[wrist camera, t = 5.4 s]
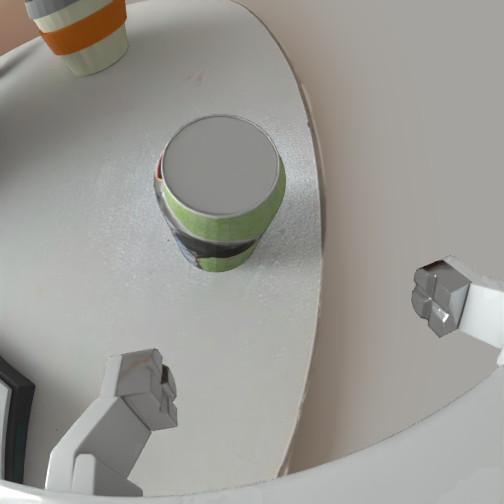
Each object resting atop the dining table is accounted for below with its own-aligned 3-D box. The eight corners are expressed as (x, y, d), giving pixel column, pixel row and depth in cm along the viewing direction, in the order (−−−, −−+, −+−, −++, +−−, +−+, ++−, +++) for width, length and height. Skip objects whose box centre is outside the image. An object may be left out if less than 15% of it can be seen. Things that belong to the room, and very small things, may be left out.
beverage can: (208, 190, 24) (182, 77, 13) (287, 232, 23) (318, 130, 12) (164, 252, 23) (95, 167, 11) (245, 302, 22) (239, 250, 10)
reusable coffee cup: (142, 62, 30) (114, -34, 16) (56, 98, 29) (9, 17, 15) (138, 25, 34) (119, -50, 20) (67, 54, 33) (36, -13, 19)
